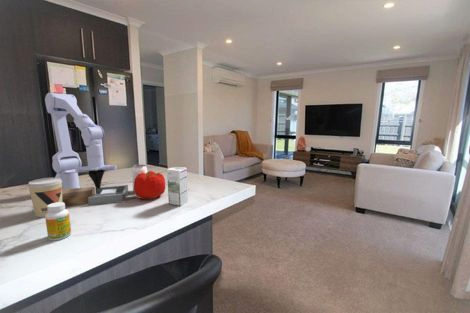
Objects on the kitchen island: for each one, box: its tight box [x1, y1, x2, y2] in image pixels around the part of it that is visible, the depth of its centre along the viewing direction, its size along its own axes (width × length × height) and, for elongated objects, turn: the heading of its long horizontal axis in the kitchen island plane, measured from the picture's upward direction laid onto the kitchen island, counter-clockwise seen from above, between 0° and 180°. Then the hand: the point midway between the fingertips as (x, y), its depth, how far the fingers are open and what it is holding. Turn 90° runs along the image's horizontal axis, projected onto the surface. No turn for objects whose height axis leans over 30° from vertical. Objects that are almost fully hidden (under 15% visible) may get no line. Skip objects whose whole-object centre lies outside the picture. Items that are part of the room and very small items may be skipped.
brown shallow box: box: [62, 186, 96, 207], centre depth 95 cm, size 13×10×4 cm
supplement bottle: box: [44, 202, 72, 241], centre depth 67 cm, size 5×5×10 cm
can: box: [131, 164, 148, 192], centre depth 108 cm, size 6×6×12 cm
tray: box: [88, 184, 129, 206], centre depth 100 cm, size 13×14×3 cm
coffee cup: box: [27, 176, 62, 218], centre depth 83 cm, size 9×9×12 cm
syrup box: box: [166, 166, 189, 207], centre depth 92 cm, size 6×6×14 cm
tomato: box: [133, 170, 166, 200], centre depth 100 cm, size 14×13×10 cm
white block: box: [100, 189, 117, 196], centre depth 99 cm, size 6×6×2 cm
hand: (98, 187), depth 98 cm, fingers closed
